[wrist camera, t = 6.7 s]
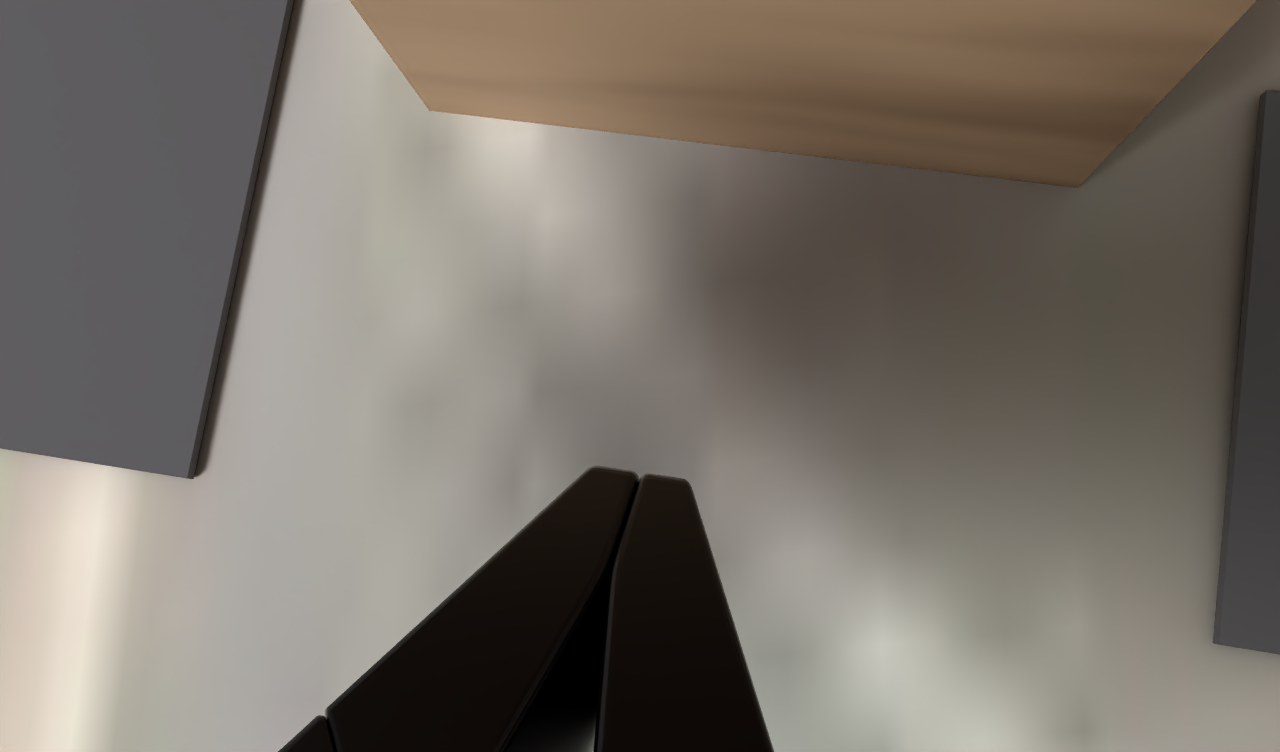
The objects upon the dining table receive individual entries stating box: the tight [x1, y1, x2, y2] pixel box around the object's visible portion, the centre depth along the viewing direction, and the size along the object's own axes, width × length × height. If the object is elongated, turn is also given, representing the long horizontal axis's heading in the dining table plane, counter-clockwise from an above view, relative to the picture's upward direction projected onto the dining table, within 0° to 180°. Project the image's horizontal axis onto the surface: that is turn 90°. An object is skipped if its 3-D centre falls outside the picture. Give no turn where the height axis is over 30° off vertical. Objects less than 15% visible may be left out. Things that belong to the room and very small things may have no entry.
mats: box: [0, 0, 1280, 654], centre depth 17 cm, size 8×25×1 cm, turn 81°
